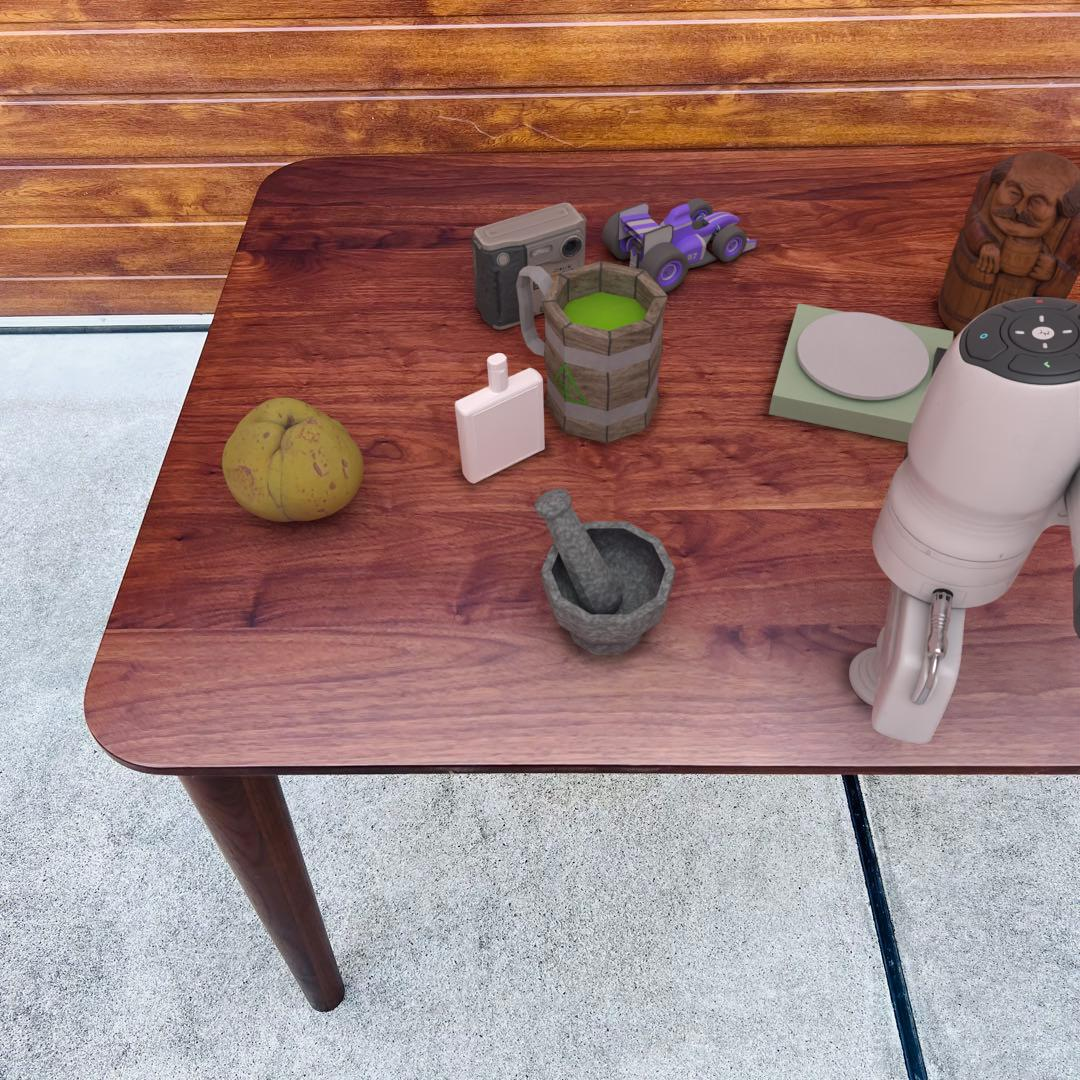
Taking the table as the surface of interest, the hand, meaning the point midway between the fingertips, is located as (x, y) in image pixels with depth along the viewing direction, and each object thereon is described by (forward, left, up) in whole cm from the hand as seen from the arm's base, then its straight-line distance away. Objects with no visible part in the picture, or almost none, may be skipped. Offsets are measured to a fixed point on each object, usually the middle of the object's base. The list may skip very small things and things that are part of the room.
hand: (895, 657), depth 73 cm
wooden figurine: (-5, -45, -4) cm, 45 cm away
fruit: (+50, -3, -4) cm, 50 cm away
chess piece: (0, 0, -4) cm, 4 cm away
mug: (+31, -24, -4) cm, 39 cm away
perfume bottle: (+35, -13, -4) cm, 37 cm away
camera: (+40, -35, -4) cm, 53 cm away
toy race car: (+27, -48, -4) cm, 55 cm away
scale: (+6, -33, -3) cm, 34 cm away
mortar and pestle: (+22, +1, -4) cm, 22 cm away
